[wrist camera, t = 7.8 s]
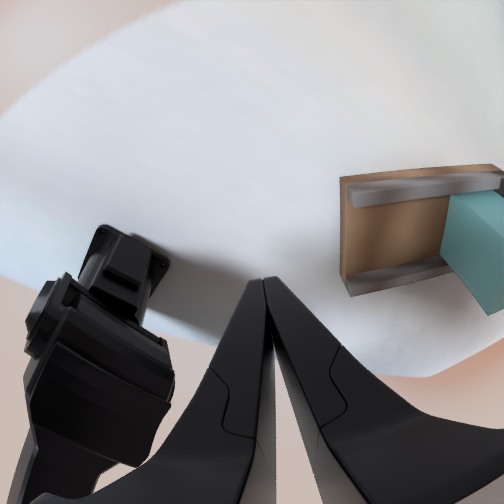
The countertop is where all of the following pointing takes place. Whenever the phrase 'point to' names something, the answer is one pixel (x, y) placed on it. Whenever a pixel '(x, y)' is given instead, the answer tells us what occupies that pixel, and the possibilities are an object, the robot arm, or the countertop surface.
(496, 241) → the teal rectangular block
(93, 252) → the robot arm
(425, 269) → the track
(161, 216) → the countertop surface
